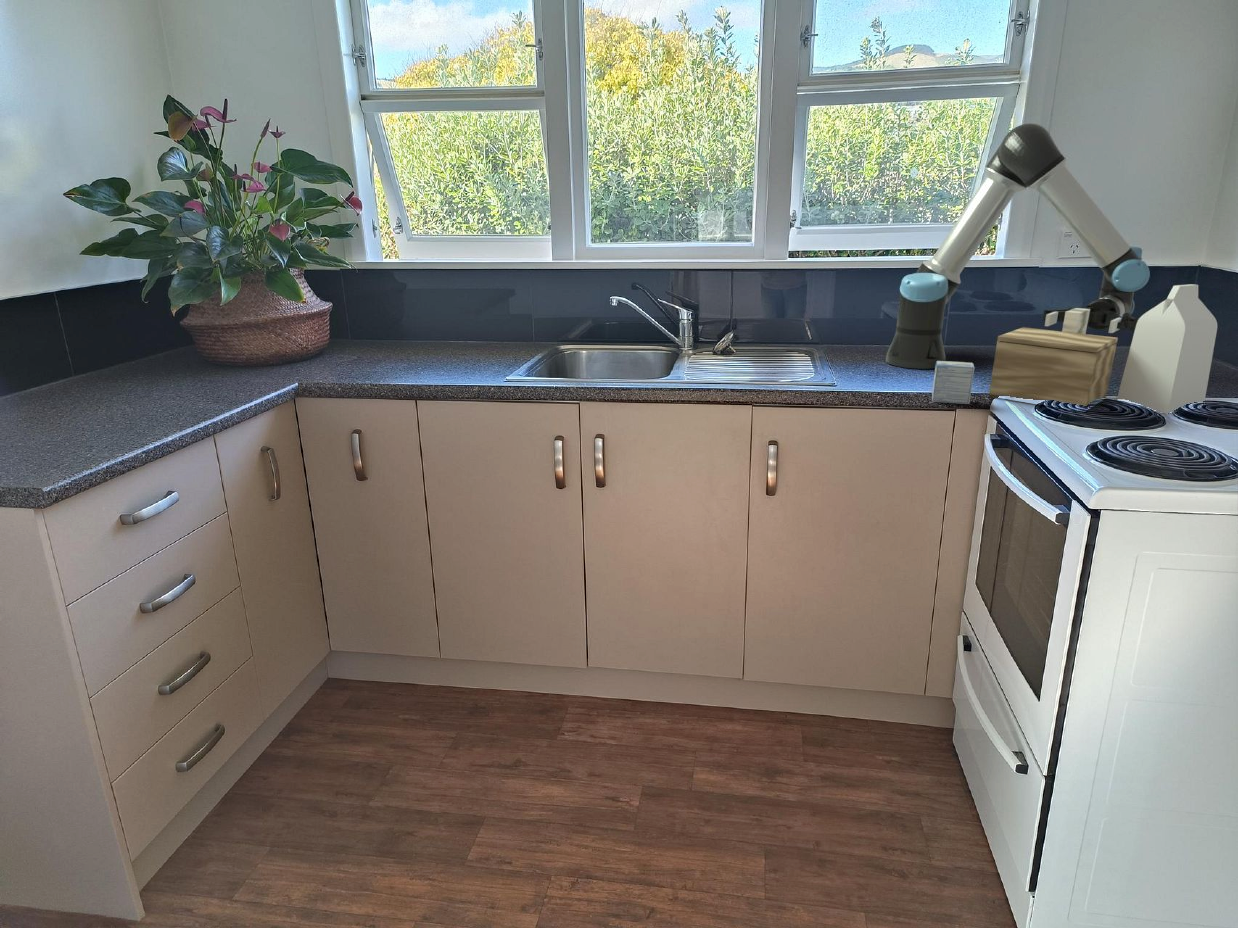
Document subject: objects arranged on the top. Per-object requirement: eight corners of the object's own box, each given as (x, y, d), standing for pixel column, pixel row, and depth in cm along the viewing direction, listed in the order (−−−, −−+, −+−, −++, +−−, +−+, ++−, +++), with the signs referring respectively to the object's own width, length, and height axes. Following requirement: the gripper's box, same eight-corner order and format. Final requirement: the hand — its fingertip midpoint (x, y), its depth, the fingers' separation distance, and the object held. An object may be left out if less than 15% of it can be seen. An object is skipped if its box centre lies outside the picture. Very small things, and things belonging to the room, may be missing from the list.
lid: (1094, 364, 168) (1101, 326, 165) (995, 351, 181) (1000, 316, 179) (1124, 348, 185) (1131, 313, 182) (1032, 337, 198) (1037, 304, 195)
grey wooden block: (968, 400, 182) (973, 362, 179) (969, 405, 178) (975, 366, 175) (931, 397, 185) (936, 360, 182) (931, 402, 181) (936, 364, 178)
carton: (1084, 413, 172) (1096, 353, 167) (988, 397, 185) (997, 341, 180) (1105, 399, 182) (1116, 343, 178) (1013, 385, 196) (1022, 332, 191)
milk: (1166, 414, 170) (1195, 289, 162) (1116, 401, 180) (1140, 283, 172) (1203, 408, 175) (1233, 286, 166) (1151, 396, 185) (1177, 281, 176)
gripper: (1157, 334, 195) (1136, 346, 180) (1047, 322, 211) (1019, 333, 196) (1164, 303, 192) (1143, 313, 178) (1052, 293, 209) (1024, 302, 194)
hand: (1078, 323), depth 187 cm, fingers open, 13 cm apart
